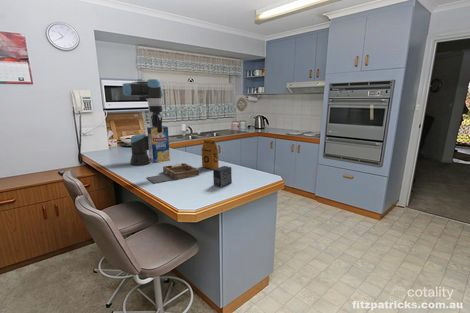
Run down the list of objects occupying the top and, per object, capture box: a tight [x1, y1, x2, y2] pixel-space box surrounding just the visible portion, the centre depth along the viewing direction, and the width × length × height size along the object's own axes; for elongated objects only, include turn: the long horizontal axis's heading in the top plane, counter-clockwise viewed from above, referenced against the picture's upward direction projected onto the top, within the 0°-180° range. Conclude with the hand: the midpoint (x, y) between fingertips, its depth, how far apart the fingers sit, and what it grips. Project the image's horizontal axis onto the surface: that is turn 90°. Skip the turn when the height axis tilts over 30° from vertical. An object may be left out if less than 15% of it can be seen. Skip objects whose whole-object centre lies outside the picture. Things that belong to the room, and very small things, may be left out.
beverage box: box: [146, 125, 171, 164], centre depth 160 cm, size 7×11×22 cm, turn 127°
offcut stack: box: [171, 163, 182, 168], centre depth 183 cm, size 4×10×4 cm, turn 119°
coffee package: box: [201, 138, 220, 170], centre depth 190 cm, size 10×12×22 cm
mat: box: [146, 173, 176, 185], centre depth 165 cm, size 14×14×1 cm
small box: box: [212, 165, 233, 188], centre depth 154 cm, size 11×6×10 cm, turn 141°
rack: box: [162, 162, 200, 181], centre depth 177 cm, size 22×17×4 cm
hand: (158, 143), depth 160 cm, fingers closed on beverage box, 2 cm apart
